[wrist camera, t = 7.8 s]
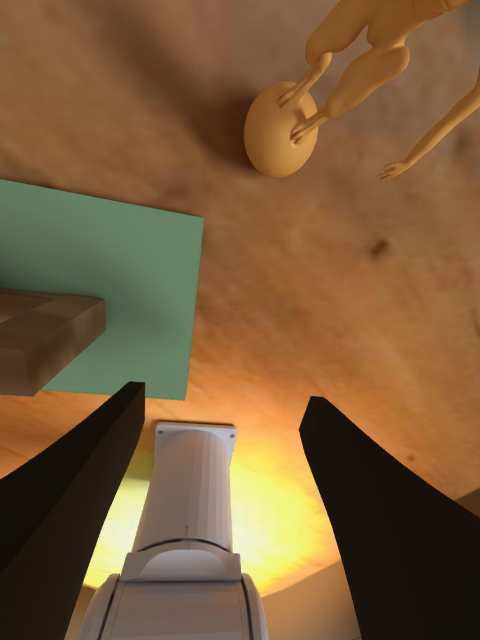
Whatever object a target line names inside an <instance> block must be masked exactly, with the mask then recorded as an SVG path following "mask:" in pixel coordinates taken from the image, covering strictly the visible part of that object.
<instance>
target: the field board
mask: <svg viewBox="0 0 480 640" xmlns="http://www.w3.org/2000/svg"><path fill="white" fill-rule="evenodd" d="M203 227H204V218H201V217H196V216H191V215H186V214H180V213H175V212H170V211H165V210H159V209H154V208H149V207H144V206H139V205H133V204H128V203H123V202H118V201H112V200H107V199H102V198H97V197H92V196H86V195H81V194H76V193H71V192H65V191H60V190H55V189H50V188H44V187H39V186H34V185H29V184H24V183H18V182H13V181H8V180H3V179H0V288H3V289H11V290H18V291H26V292H34V293H42V294H49V295H57V296H63V295H66V294H71V295H78V296H86V297H94V298H101V299H105V315H106V331H105V332H104V333H102V334H101V335H100V336H99V337H98V338H97V339H96V340H95V341H94V342H92V343H91V344H90V345H89V346H88V347H87V348H86V349H85V350H84V351H83V352H81V353H80V354H79V355H78V356H77V357H76V358H75V359H74V360H73V361H72V362H70V363H69V364H68V365H67V366H66V367H65V368H64V369H63V370H62V371H60V372H59V373H58V374H57V375H56V376H55V377H54V378H53V379H52V380H51V381H49V382H48V383H47V384H46V385H45V386H44V387H43V388H42V389H41V390H48V391H62V392H75V393H89V394H103V395H114V394H115V393H116V392H117V391H119V390H120V389H121V388H122V387H123V386H124V385H125V384H126V383H128V382H129V381H134V382H145V398H157V399H171V400H185V396H186V390H187V380H188V371H189V361H190V352H191V342H192V332H193V323H194V313H195V304H196V294H197V285H198V275H199V265H200V256H201V246H202V237H203Z"/></svg>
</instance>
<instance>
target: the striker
mask: <svg viewBox="0 0 480 640" xmlns="http://www.w3.org/2000/svg"><path fill="white" fill-rule="evenodd" d="M105 331H106V315H105V299H101V298H94V297H86V296H78V295H71V294H66V295H63V296H57V295H49V294H42V293H34V292H26V291H18V290H11V289H3V288H0V394H2V395H17V396H31V397H33V396H34V395H35V394H36V393H37V392H38V391H40V390H41V389H42V388H43V387H44V386H45V385H46V384H47V383H48V382H49V381H51V380H52V379H53V378H54V377H55V376H56V375H57V374H58V373H59V372H60V371H62V370H63V369H64V368H65V367H66V366H67V365H68V364H69V363H70V362H72V361H73V360H74V359H75V358H76V357H77V356H78V355H79V354H80V353H81V352H83V351H84V350H85V349H86V348H87V347H88V346H89V345H90V344H91V343H92V342H94V341H95V340H96V339H97V338H98V337H99V336H100V335H101V334H102V333H104V332H105Z"/></svg>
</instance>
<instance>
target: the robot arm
mask: <svg viewBox="0 0 480 640" xmlns="http://www.w3.org/2000/svg"><path fill="white" fill-rule="evenodd" d="M144 421H145V382H134V381H129V382H128V383H126V384H125V385H124V386H123V387H122V388H121V389H120V390H119V391H117V392H116V393H115V394H114V395H113V396H112V397H111V398H109V399H108V400H107V401H106V402H105V403H104V404H103V405H101V406H100V407H99V408H98V409H97V410H95V411H94V412H93V413H92V414H90V415H89V416H88V417H87V418H86V419H84V420H83V421H82V422H81V423H79V424H78V425H77V426H76V427H74V428H73V429H72V430H70V431H69V432H68V433H66V434H65V435H64V436H63V437H61V438H60V439H59V440H57V441H56V442H55V443H53V444H52V445H51V446H49V447H48V448H46V449H45V450H44V451H42V452H41V453H39V454H38V455H36V456H35V457H34V458H32V459H31V460H29V461H28V462H26V463H25V464H23V465H22V466H20V467H19V468H17V469H16V470H14V471H13V472H11V473H10V474H8V475H7V476H5V477H3V478H2V479H0V640H64V638H65V635H66V632H67V629H68V626H69V623H70V620H71V617H72V613H73V611H74V608H75V605H76V602H77V599H78V596H79V593H80V590H81V587H82V584H83V581H84V578H85V575H86V572H87V569H88V566H89V563H90V560H91V557H92V555H93V552H94V549H95V546H96V543H97V540H98V537H99V534H100V532H101V529H102V526H103V524H104V521H105V519H106V516H107V514H108V511H109V509H110V506H111V504H112V502H113V500H114V497H115V495H116V493H117V490H118V488H119V486H120V483H121V481H122V479H123V477H124V474H125V472H126V470H127V467H128V465H129V463H130V460H131V458H132V456H133V453H134V451H135V449H136V446H137V443H138V440H139V437H140V434H141V431H142V427H143V424H144ZM160 430H161V431H160ZM299 432H300V437H301V441H302V445H303V449H304V452H305V455H306V458H307V461H308V464H309V466H310V469H311V472H312V474H313V477H314V480H315V482H316V485H317V487H318V490H319V493H320V495H321V498H322V500H323V503H324V506H325V508H326V511H327V514H328V517H329V519H330V522H331V525H332V528H333V532H334V535H335V539H336V542H337V545H338V549H339V552H340V556H341V559H342V563H343V566H344V570H345V574H346V578H347V581H348V585H349V589H350V592H351V596H352V600H353V604H354V608H355V612H356V616H357V620H358V624H359V628H360V633H361V637H362V640H480V518H479V517H478V516H476V515H474V514H473V513H471V512H470V511H468V510H466V509H465V508H464V507H462V506H461V505H459V504H458V503H456V502H455V501H453V500H452V499H450V498H449V497H447V496H446V495H444V494H443V493H441V492H440V491H438V490H437V489H435V488H434V487H433V486H431V485H430V484H428V483H427V482H426V481H424V480H423V479H422V478H420V477H419V476H417V475H416V474H415V473H413V472H412V471H411V470H409V469H408V468H407V467H405V466H404V465H403V464H401V463H400V462H399V461H398V460H396V459H395V458H394V457H393V456H391V455H390V454H389V453H388V452H386V451H385V450H384V449H383V448H382V447H380V446H379V445H378V444H377V443H376V442H374V441H373V440H372V439H371V438H370V437H369V436H367V435H366V434H365V433H364V432H363V431H362V430H361V429H359V428H358V427H357V426H356V425H355V424H354V423H353V422H352V421H350V420H349V419H348V418H347V417H346V416H345V415H344V414H343V413H342V412H340V411H339V410H338V409H337V408H336V407H335V406H334V405H332V404H331V403H330V402H329V401H328V400H327V399H325V398H324V397H317V396H311V397H310V400H309V403H308V406H307V408H306V411H305V414H304V417H303V419H302V422H301V425H300V428H299ZM237 433H238V431H237V427H235V426H225V425H208V424H191V423H174V422H158V423H157V424H156V428H155V448H154V470H153V474H152V478H151V481H150V485H149V489H148V492H147V496H146V500H145V504H144V507H143V511H142V515H141V518H140V522H139V526H138V529H137V533H136V537H135V540H134V544H133V548H132V552H130V553H127V555H126V559H125V562H124V566H123V569H122V573H121V576H120V574H111V575H110V576H109V577H108V578H107V580H106V581H105V582H104V583H103V584H102V585H101V586H100V587H99V588H98V589H97V591H96V592H95V594H94V596H93V598H92V600H91V602H90V605H89V607H88V609H87V612H86V615H85V617H84V619H83V622H82V624H81V627H80V630H79V632H78V636H77V638H76V640H269V638H268V630H267V624H266V618H265V612H264V608H263V604H262V600H261V597H260V594H259V592H258V590H257V588H256V587H255V585H254V583H253V580H252V579H251V577H250V576H249V575H248V574H246V573H241V563H240V554H236V553H233V543H232V519H231V495H230V471H229V468H230V463H231V459H232V454H233V450H234V446H235V441H236V437H237ZM231 434H233V435H231Z"/></svg>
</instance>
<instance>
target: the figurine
mask: <svg viewBox="0 0 480 640" xmlns="http://www.w3.org/2000/svg"><path fill="white" fill-rule="evenodd" d="M469 1H470V0H341V1H340V2H339V3H338V4H337V5H336V6H335V7H334V8H333V9H332V10H331V12H330V13H329V14H328V15H327V17H326V18H325V19H324V21H323V22H322V24H321V25H320V26H319V27H318V28H317V29H316V30H315V31H314V32H313V33H312V34H311V35H310V37H309V38H308V40H307V43H306V51H305V58H306V61H307V62H308V63H309V64H310V65H311V66H312V68H311V69H310V70H309V71H308V72H307V73H306V74H305V75H304V76H303V77H302V78H301V79H300V80H299V81H298V82H297V83H294V82H289V81H282V82H277V83H274V84H272V85H270V86H268V87H267V88H265V89H264V90H263V91H262V92H261V93H260V94H259V95H258V96H257V97H256V99H255V100H254V101H253V103H252V105H251V107H250V109H249V111H248V114H247V117H246V121H245V126H244V143H245V149H246V152H247V155H248V157H249V159H250V161H251V163H252V164H253V165H254V167H255V168H256V169H257V170H258V171H260V172H261V173H263V174H264V175H267V176H270V177H284V176H288V175H290V174H292V173H294V172H295V171H297V170H298V169H299V168H300V167H301V166H302V165H303V164H304V163H305V162H306V161H307V159H308V158H309V156H310V155H311V153H312V151H313V149H314V146H315V143H316V140H317V135H318V127H319V125H320V124H322V123H323V122H324V121H325V120H326V119H328V118H335V117H337V116H338V115H339V114H341V113H343V112H345V111H347V110H349V109H351V108H353V107H354V106H356V105H357V104H359V103H360V102H361V101H362V100H364V99H365V98H366V97H367V96H368V95H369V94H370V93H371V92H372V91H373V90H375V89H376V88H377V87H379V86H380V85H382V84H384V83H386V82H388V81H390V80H391V79H393V78H395V77H396V76H398V75H399V74H401V73H402V72H403V71H404V70H405V68H406V66H407V64H408V62H409V59H410V52H409V49H408V48H407V47H405V45H404V40H405V38H406V36H407V35H408V34H409V33H410V32H412V31H413V30H415V29H416V28H417V27H419V26H420V25H422V24H423V23H424V22H425V21H429V20H431V19H434V18H436V17H438V16H440V15H441V14H443V13H445V12H446V11H450V10H452V9H455V8H458V7H460V6H462V5H463V4H465V3H467V2H469ZM367 24H368V25H369V27H368V31H367V41H368V43H370V44H371V45H373V48H372V49H371V50H370V51H368V52H367V53H365V54H363V55H361V56H360V57H358V58H357V59H356V60H354V61H353V62H352V63H351V64H350V65H349V66H348V67H347V69H346V70H345V72H344V73H343V75H342V77H341V79H340V82H339V84H338V86H337V88H336V89H335V91H334V92H333V93H332V95H331V96H330V97H329V99H328V100H327V102H326V104H325V106H324V107H323V108H321V109H320V110H319V111H318V112H317V108H316V105H315V103H314V100H313V99H312V97H311V95H310V94H309V93H308V91H307V90H308V89H309V88H310V87H311V86H312V85H313V84H314V83H315V82H316V81H317V80H318V78H319V77H320V76H321V75H322V74H323V72H324V71H325V69H326V67H327V66H328V65H329V63H330V61H331V57H332V53H335V52H339V51H342V50H344V49H345V48H347V47H348V46H349V45H350V44H351V43H352V42H353V41H354V40H355V39H356V37H357V36H358V35H359V34H360V32H361V31H362V30H363V28H364V27H365V26H366V25H367ZM478 107H480V67H479V73H478V78H477V83H476V86H475V87H474V89H473V90H472V91H471V92H470V93H469V94H468V95H466V96H465V97H464V98H463V99H462V100H460V101H459V102H458V103H457V104H456V105H455V106H454V107H453V108H452V110H451V111H450V112H449V113H448V114H447V115H446V116H445V117H444V118H443V119H442V120H441V121H440V122H438V123H437V124H436V125H435V126H434V127H433V128H432V129H431V130H430V131H429V132H428V133H427V134H426V135H425V136H424V137H423V138H422V139H421V140H420V141H419V142H418V143H417V145H416V146H415V147H414V149H413V150H412V151H411V153H410V154H409V155H408V157H407V158H406V159H404V160H403V161H400V162H394V163H390V164H387V165H385V166H384V168H388V167H393V168H391V169H389V170H387V171H385V172H383V173H381V174H379V175H377V176H376V178H378V177H382V176H384V175H386V176H384V177H382V178H380V179H379V181H382V180H387V179H390V178H392V177H394V176H397V175H398V174H400V173H402V172H403V171H405V170H406V169H408V168H409V167H410V166H412V165H413V164H414V163H415V162H416V161H417V160H418V159H419V158H420V157H421V156H423V155H424V154H425V153H427V152H428V151H429V150H430V149H432V148H433V147H434V146H435V145H436V144H437V143H438V142H439V141H440V140H441V139H442V138H443V137H444V136H445V135H446V134H447V133H448V132H449V131H450V130H451V129H452V128H453V127H455V126H456V125H457V124H458V123H459V122H460V121H461V120H463V119H464V118H465V117H467V116H468V115H469V114H470V113H472V112H473V111H474V110H476V109H477V108H478Z"/></svg>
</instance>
